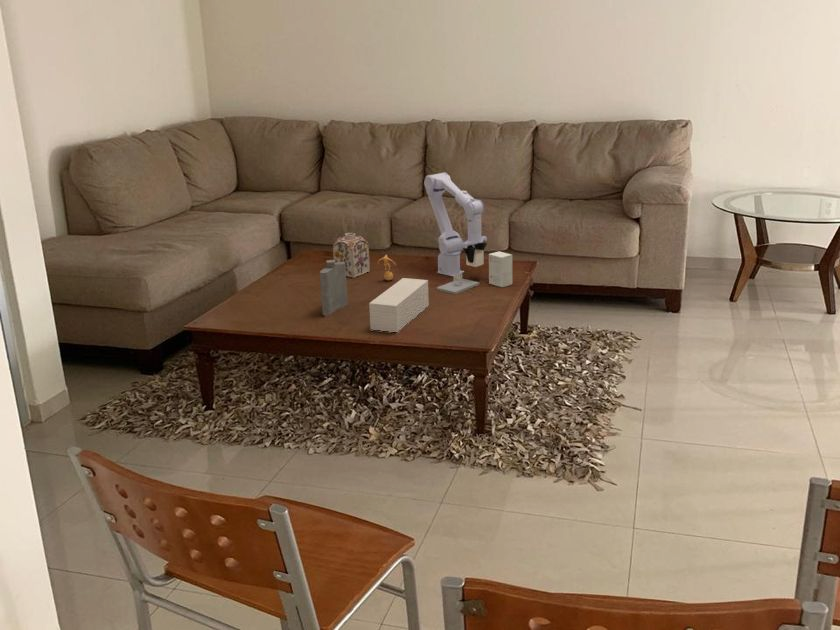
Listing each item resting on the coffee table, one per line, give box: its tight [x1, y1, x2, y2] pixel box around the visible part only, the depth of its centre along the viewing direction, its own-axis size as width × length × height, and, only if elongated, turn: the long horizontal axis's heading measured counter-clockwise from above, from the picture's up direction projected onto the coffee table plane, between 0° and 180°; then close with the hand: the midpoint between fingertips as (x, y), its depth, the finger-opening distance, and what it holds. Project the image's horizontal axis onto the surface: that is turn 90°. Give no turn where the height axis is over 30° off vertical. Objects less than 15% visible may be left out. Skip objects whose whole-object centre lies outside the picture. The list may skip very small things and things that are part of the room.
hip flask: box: [319, 259, 349, 316], centre depth 344 cm, size 16×4×20 cm, turn 154°
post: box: [453, 272, 463, 286], centre depth 369 cm, size 3×3×5 cm
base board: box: [436, 278, 480, 295], centre depth 370 cm, size 10×16×1 cm, turn 138°
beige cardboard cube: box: [465, 249, 485, 268], centre depth 375 cm, size 5×5×6 cm
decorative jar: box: [332, 232, 371, 279], centre depth 391 cm, size 12×12×18 cm
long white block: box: [368, 277, 430, 333], centre depth 335 cm, size 32×11×11 cm, turn 159°
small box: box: [488, 250, 513, 288], centre depth 370 cm, size 8×6×13 cm
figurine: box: [377, 254, 397, 281], centre depth 379 cm, size 8×6×12 cm
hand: (474, 260), depth 375 cm, fingers closed on beige cardboard cube, 5 cm apart
